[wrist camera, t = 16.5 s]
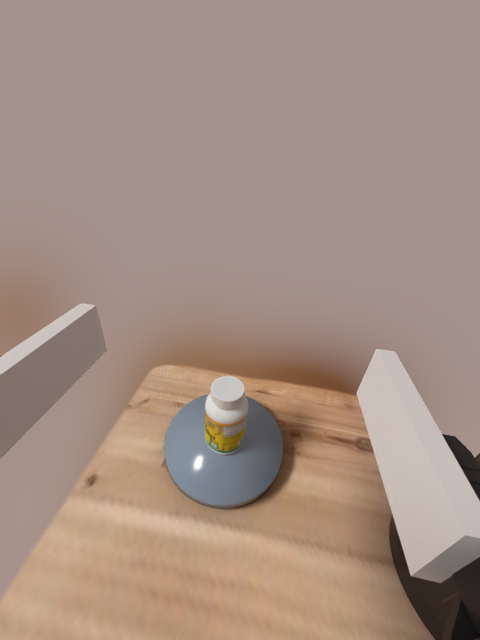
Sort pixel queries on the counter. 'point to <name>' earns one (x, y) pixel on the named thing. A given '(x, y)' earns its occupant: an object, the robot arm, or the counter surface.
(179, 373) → the counter surface
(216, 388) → the supplement bottle
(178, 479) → the slate dish
